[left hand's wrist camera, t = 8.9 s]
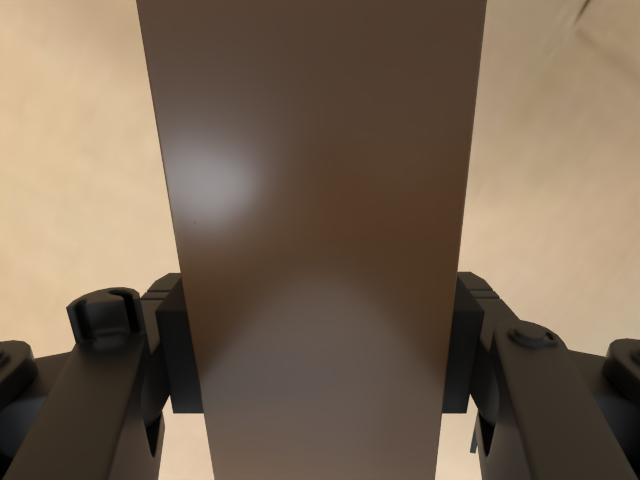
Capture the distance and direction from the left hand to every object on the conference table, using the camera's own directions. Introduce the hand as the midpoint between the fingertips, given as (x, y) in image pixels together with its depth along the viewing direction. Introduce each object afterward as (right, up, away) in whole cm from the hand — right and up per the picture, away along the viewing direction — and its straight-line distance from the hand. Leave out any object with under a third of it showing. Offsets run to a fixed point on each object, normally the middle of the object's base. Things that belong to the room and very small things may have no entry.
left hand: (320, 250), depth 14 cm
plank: (0, +20, -7) cm, 21 cm away
